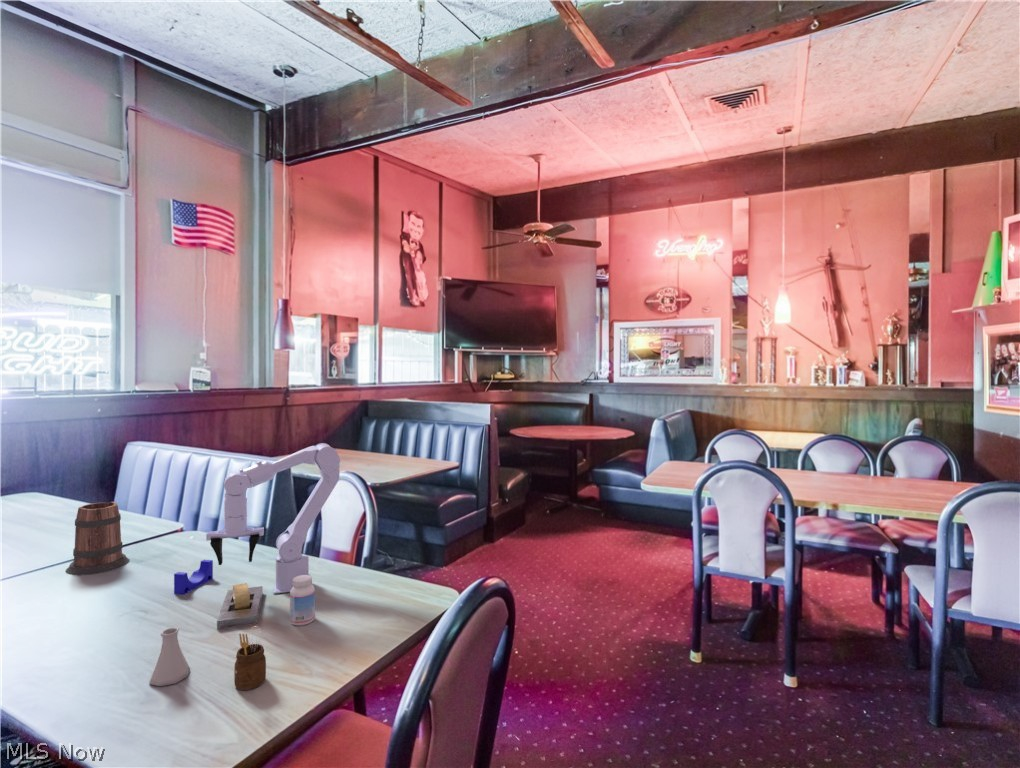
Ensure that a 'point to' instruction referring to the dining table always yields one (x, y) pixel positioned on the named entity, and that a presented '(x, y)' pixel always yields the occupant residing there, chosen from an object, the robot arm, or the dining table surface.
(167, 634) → the flask
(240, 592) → the wooden toy block
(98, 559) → the tankard
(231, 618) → the gray rectangular plate
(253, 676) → the utensil holder
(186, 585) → the cable clip
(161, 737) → the dining table surface
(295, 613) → the pill bottle
